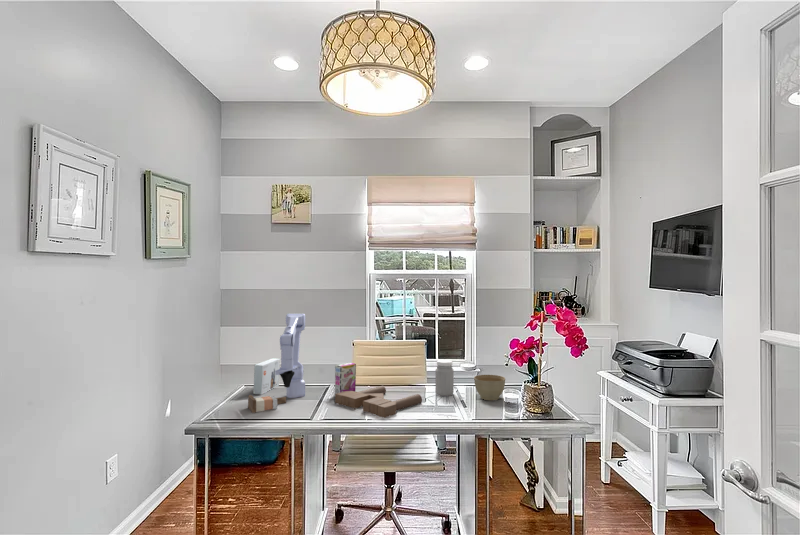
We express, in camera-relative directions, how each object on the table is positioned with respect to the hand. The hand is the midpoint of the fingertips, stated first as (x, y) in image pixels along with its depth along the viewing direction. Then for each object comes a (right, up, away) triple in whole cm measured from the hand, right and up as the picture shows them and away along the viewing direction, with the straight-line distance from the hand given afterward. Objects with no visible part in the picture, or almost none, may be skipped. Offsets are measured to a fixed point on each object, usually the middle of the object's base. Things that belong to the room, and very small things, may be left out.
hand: (287, 387), depth 226 cm
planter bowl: (+102, -11, +17) cm, 104 cm away
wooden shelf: (-7, -10, -3) cm, 13 cm away
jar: (+79, -11, +25) cm, 83 cm away
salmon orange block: (-9, -9, -4) cm, 13 cm away
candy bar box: (+26, -11, +24) cm, 36 cm away
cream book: (-12, -9, -7) cm, 16 cm away
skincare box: (-19, -11, +34) cm, 40 cm away
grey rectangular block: (-6, -9, -3) cm, 11 cm away
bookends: (+45, -11, +7) cm, 47 cm away
